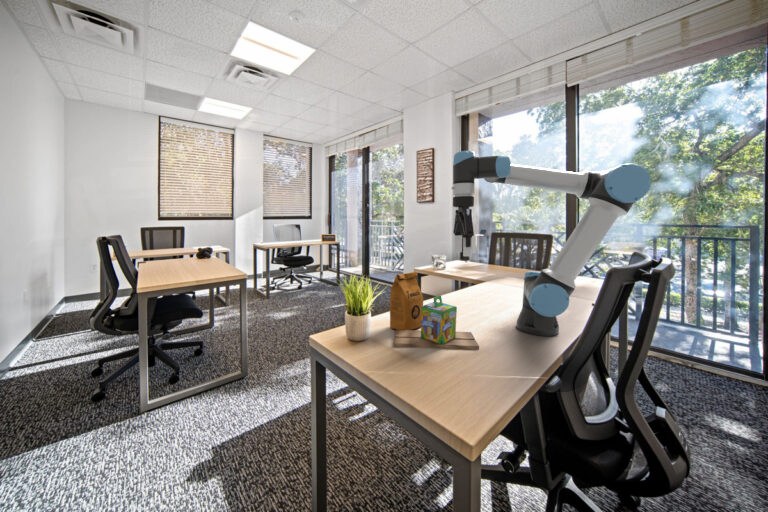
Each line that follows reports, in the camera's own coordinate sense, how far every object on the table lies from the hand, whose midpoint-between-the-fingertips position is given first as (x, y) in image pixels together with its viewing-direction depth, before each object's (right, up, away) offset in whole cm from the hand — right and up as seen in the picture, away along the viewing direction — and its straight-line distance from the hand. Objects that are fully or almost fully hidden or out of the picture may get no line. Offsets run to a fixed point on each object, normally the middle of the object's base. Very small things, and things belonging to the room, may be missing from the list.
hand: (462, 254), depth 118 cm
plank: (-11, -30, -3) cm, 32 cm away
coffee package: (-20, -29, +7) cm, 36 cm away
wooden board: (-11, -31, -7) cm, 34 cm away
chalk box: (-10, -30, -7) cm, 32 cm away
